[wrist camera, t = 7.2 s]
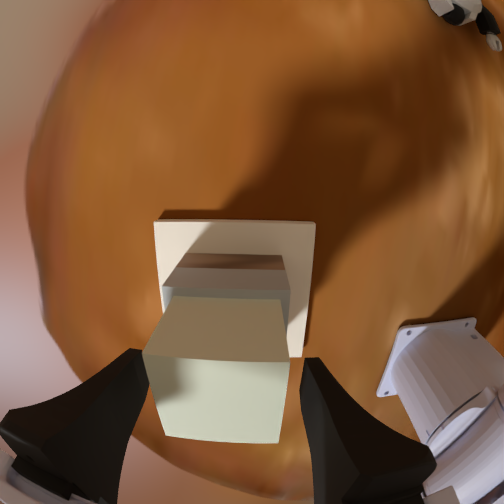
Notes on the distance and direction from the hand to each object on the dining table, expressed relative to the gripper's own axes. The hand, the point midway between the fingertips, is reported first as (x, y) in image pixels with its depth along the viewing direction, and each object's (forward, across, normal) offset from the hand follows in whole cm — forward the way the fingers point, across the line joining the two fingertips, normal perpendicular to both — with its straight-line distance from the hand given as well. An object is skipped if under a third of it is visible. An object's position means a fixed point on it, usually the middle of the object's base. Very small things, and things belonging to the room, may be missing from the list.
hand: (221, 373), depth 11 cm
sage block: (+2, 0, 0) cm, 2 cm away
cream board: (+8, 0, 0) cm, 8 cm away
